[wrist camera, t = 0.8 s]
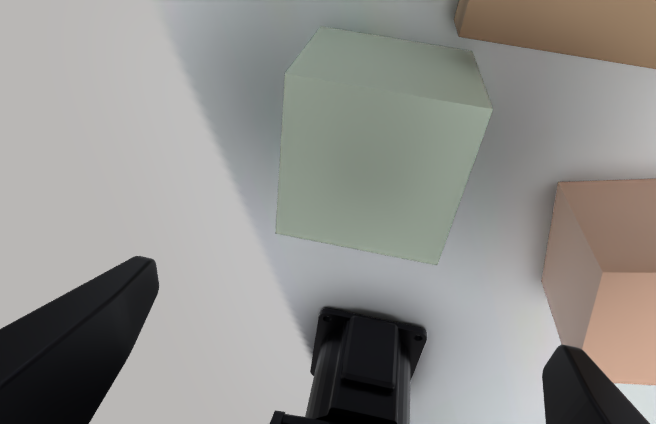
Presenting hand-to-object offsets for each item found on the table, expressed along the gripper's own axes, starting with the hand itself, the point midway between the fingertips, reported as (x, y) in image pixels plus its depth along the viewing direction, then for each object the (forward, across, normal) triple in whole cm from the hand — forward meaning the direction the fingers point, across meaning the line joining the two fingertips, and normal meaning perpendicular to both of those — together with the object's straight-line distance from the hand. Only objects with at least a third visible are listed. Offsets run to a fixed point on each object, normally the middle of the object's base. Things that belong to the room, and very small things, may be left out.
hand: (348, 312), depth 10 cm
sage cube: (+12, 0, 0) cm, 12 cm away
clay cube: (+12, -12, +4) cm, 17 cm away
